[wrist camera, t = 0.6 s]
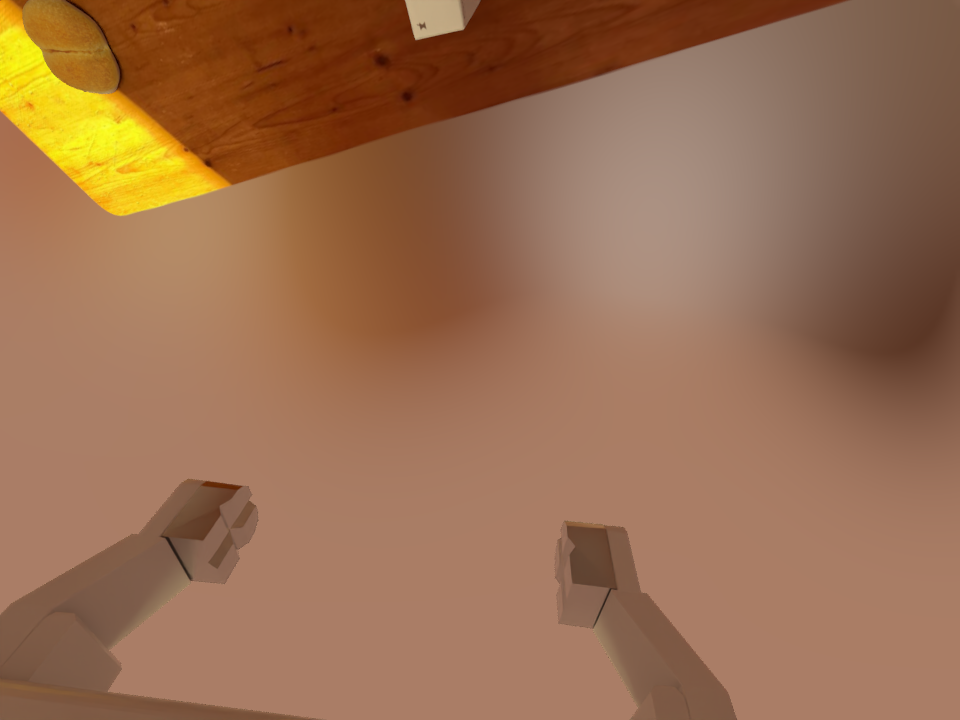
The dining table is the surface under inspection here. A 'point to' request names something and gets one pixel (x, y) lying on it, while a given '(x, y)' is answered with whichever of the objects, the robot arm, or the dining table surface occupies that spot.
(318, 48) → the dining table surface
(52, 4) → the bread roll
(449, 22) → the skincare box
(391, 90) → the dining table surface
